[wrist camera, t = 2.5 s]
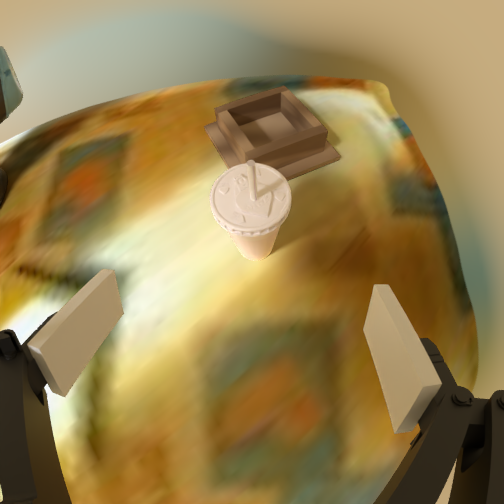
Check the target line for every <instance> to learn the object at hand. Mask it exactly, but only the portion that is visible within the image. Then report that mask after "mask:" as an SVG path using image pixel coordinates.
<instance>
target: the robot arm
mask: <svg viewBox="0 0 504 504" xmlns="http://www.w3.org/2000/svg"><path fill="white" fill-rule="evenodd" d="M22 98H23V92H22V90H21V86H20V84H19V81H18V79H17V76H16V74H15V71H14V69H13V67H12V64H11V62H10V60H9V58H8V55H7V53H6V51H5V49H4V48H3V47H2V46H0V124H1V123H2V122H3V121H4V120H5V119H6V118H8V116H9V114H11V113H12V112H13V111H14V110H15V109H16V108H17V107H18V106H19V105H20V103H21V101H22ZM6 187H7V174H6V172H5V171H4V170H3V169H2V168H1V167H0V204H1V202H2V200H3V197H4V194H5V191H6ZM123 314H124V312H123V308H122V304H121V300H120V295H119V291H118V286H117V282H116V277H115V272H114V270H108V269H102V270H101V271H100V272H99V273H98V274H97V275H96V276H94V277H93V278H92V279H91V280H90V281H89V282H88V283H87V284H86V285H85V286H84V287H83V288H82V289H81V290H80V291H79V292H77V293H76V294H75V295H74V296H73V297H72V298H71V299H70V300H69V301H68V302H67V303H66V304H65V305H64V306H63V307H62V308H61V309H60V310H59V311H58V312H56V313H54V314H53V315H51V316H49V317H48V318H47V319H46V320H45V321H44V322H43V323H42V325H40V326H39V327H38V328H37V330H35V331H34V332H33V333H32V335H31V336H30V337H29V338H28V339H27V340H26V341H25V342H24V343H23V344H22V345H20V342H19V340H18V338H17V336H16V334H15V332H14V331H13V330H10V329H7V330H3V331H0V482H1V489H2V495H3V501H2V502H0V504H72V502H71V500H70V497H69V494H68V490H67V487H66V484H65V481H64V477H63V474H62V470H61V467H60V463H59V459H58V455H57V450H56V446H55V441H54V437H53V432H52V426H51V421H50V415H49V408H48V401H47V394H46V391H45V389H44V387H45V385H46V384H48V385H49V387H50V389H51V391H52V392H53V393H56V394H58V395H61V396H63V397H65V396H66V395H67V393H68V392H69V390H70V389H71V387H72V386H73V384H74V383H75V381H76V380H77V378H78V377H79V375H80V374H81V372H82V371H83V370H84V368H85V367H86V365H87V364H88V362H89V361H90V359H91V358H92V357H93V355H94V354H95V352H96V351H97V349H98V348H99V347H100V345H101V344H102V342H103V341H104V340H105V338H106V337H107V336H108V334H109V333H110V331H111V330H112V329H113V327H114V326H115V325H116V323H117V322H118V321H119V319H120V318H121V317H122V315H123ZM363 331H364V334H365V337H366V340H367V343H368V346H369V349H370V352H371V355H372V358H373V361H374V364H375V367H376V371H377V374H378V377H379V380H380V384H381V387H382V390H383V394H384V397H385V401H386V404H387V408H388V411H389V415H390V419H391V422H392V426H393V430H394V434H396V433H403V432H409V431H412V430H413V429H414V427H415V426H416V424H417V423H419V426H420V429H421V430H420V432H419V433H418V434H417V436H416V437H415V438H414V440H413V441H412V442H411V443H410V445H411V447H410V449H409V450H408V452H407V454H406V456H405V457H404V459H403V461H402V462H401V464H400V465H399V467H398V469H397V470H396V472H395V473H394V475H393V476H392V478H391V479H390V481H389V482H388V484H387V485H386V487H385V488H384V490H383V491H382V492H381V494H380V495H379V497H378V498H377V499H376V501H375V502H374V503H373V504H435V503H436V502H437V500H438V498H439V496H440V494H441V492H442V490H443V488H444V486H445V483H446V481H447V479H448V477H449V475H450V472H451V470H452V468H453V466H454V463H455V461H456V459H457V462H456V467H455V473H454V479H453V484H452V489H451V493H450V498H449V502H448V504H504V390H498V391H496V392H494V393H493V395H492V396H491V398H490V399H480V398H474V396H473V394H472V393H471V392H470V391H469V390H468V389H466V388H464V387H461V386H457V384H456V382H455V380H454V378H453V376H452V374H451V372H450V370H449V368H448V367H447V365H446V363H445V362H444V359H443V357H442V356H441V355H440V352H439V350H438V348H437V347H436V345H435V344H434V343H433V342H431V341H430V340H429V339H428V338H420V339H419V337H418V335H417V333H416V332H415V330H414V328H413V326H412V324H411V323H410V321H409V319H408V317H407V315H406V314H405V312H404V310H403V308H402V307H401V305H400V303H399V302H398V300H397V298H396V296H395V295H394V293H393V291H392V290H391V288H390V286H389V285H386V284H374V287H373V292H372V296H371V300H370V305H369V309H368V313H367V317H366V321H365V324H364V328H363Z"/></svg>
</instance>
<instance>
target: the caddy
mask: <svg viewBox="0 0 504 504" xmlns="http://www.w3.org/2000/svg"><path fill="white" fill-rule="evenodd" d="M214 109H215V114H216V119H217V121H216V122H213V123H211V124H208V125H206V126H204V127H205V131H206V132H207V134H208V136H209V137H210V139H211V141H212V142H213V144H214V146H215V147H216V149H217V151H218V152H219V154H220V156H221V157H222V159H223V161H224V163H225V164H226V166H227V168H228V169H229V168H231V167H234V166H236V165H240V164H244V163H247V161H249V160H254V161H255V163H260V164H264V165H267V166H270V167H272V168H274V169H276V170H277V171H279V172H280V173H281V174H282V175H283V176H284V177H285V178H286V180H287V181H288V180H291V179H293V178H295V177H298V176H300V175H303V174H305V173H307V172H310V171H312V170H315V169H317V168H320V167H322V166H325V165H327V164H330V163H332V162H335V161H337V160H339V158H340V155H339V154H338V153H337V152H336V150H335V149H334V148H333V147H332V146H331V144H330V143H329V142H328V141H327V140H326V138H327V134H328V130H327V129H326V128H325V127H324V126H323V125H322V124H321V123H320V122H319V121H318V119H317V118H316V117H315V116H314V115H313V114H312V113H311V112H310V111H309V110H308V109H307V108H306V107H305V106H304V105H303V104H302V103H301V102H300V101H299V100H298V99H297V98H296V97H295V96H294V95H293V94H292V93H291V92H290V91H289V90H288V89H287V88H286V87H285V86H281V87H278V88H274V89H271V90H267V91H264V92H261V93H257V94H254V95H251V96H248V97H245V98H242V99H239V100H236V101H233V102H230V103H227V104H225V105H222V106H219V107H216V108H214Z"/></svg>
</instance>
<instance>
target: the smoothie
mask: <svg viewBox="0 0 504 504" xmlns="http://www.w3.org/2000/svg"><path fill="white" fill-rule="evenodd" d="M210 205H211V211H212V214H213V216H214V218H215V220H216V221H217V222H218V224H219V225H220V226H221V227H222V228H224V229H225V230H227V232H228V234H229V235H230V237H231V238H232V240H233V242H234V243H235V245H236V246H237V248H238V250H239V251H240V253H241V254H242V255H243V256H244V257H245V258H247V259H249V260H261V259H264V258H265V257H267V256H268V255H269V254H270V253H271V251H272V248H273V246H274V243H275V240H276V237H277V234H278V232H279V229H280V226H281V224H282V223H283V222H284V221H285V219H286V218H287V217H288V214H289V211H290V209H291V189H290V186H289V184H288V182H287V180H286V178H285V177H284V176H283V175H282V174H281V173H280V172H279V171H277V170H276V169H274V168H272V167H270V166H267V165H264V164H260V163H255V161H254V160H249V161H247V163H244V164H240V165H236V166H234V167H231V168H229V169H228V170H226V171H225V172H223V173H222V174H221V175H220V176H219V177H218V178H217V179H216V181H215V182H214V184H213V186H212V189H211V192H210Z"/></svg>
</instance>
